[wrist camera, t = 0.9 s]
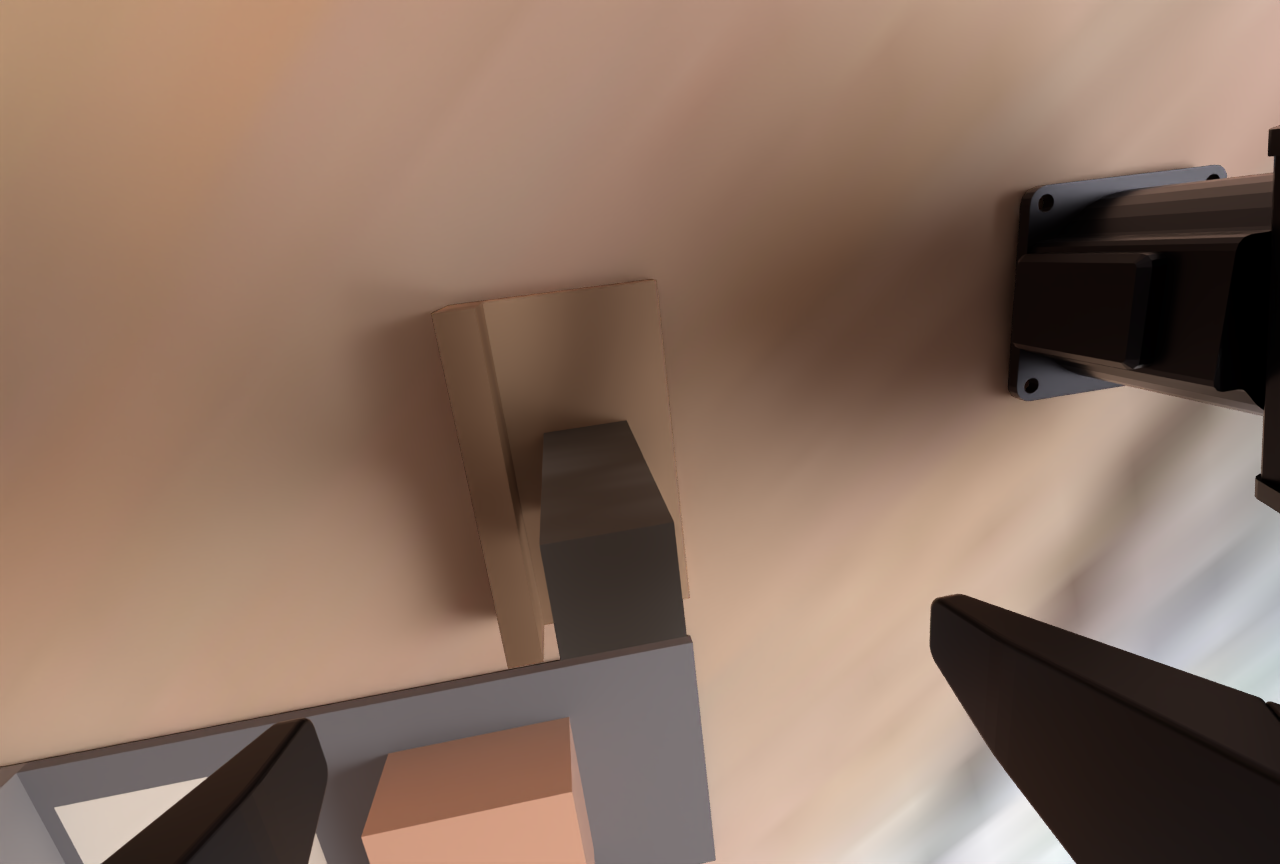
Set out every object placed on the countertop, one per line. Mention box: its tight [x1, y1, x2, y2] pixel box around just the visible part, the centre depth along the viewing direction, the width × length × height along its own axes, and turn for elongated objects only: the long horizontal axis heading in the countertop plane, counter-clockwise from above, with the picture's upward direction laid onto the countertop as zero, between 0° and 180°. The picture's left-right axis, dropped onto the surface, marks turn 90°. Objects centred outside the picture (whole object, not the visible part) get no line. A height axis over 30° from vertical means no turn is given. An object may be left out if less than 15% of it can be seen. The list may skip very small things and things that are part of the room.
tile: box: [361, 717, 595, 864], centre depth 20 cm, size 6×6×3 cm
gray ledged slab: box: [0, 636, 716, 864], centre depth 20 cm, size 22×10×2 cm, turn 97°
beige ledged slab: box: [431, 279, 690, 669], centre depth 15 cm, size 6×10×8 cm, turn 7°
